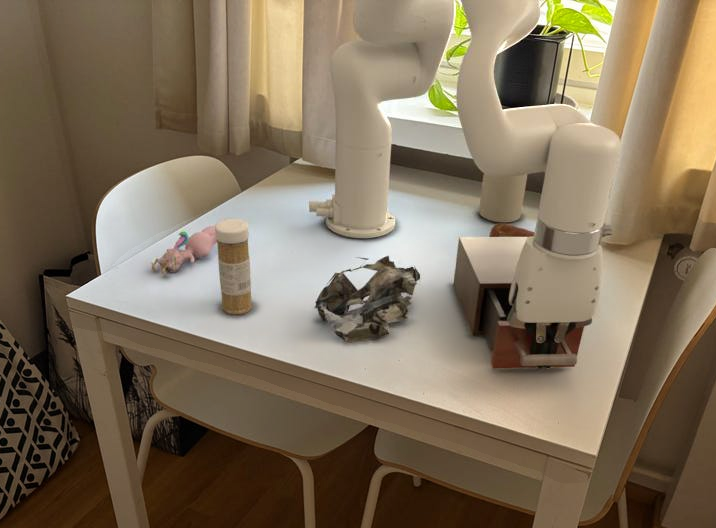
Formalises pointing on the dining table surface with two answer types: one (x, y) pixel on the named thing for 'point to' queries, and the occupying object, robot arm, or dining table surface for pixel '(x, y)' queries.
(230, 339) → the dining table surface
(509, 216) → the travel mug
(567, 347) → the drawer
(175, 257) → the rabbit figure
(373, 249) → the dining table surface
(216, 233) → the sprinkles bottle
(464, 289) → the wooden drawer cabinet
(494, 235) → the bread
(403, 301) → the foil
